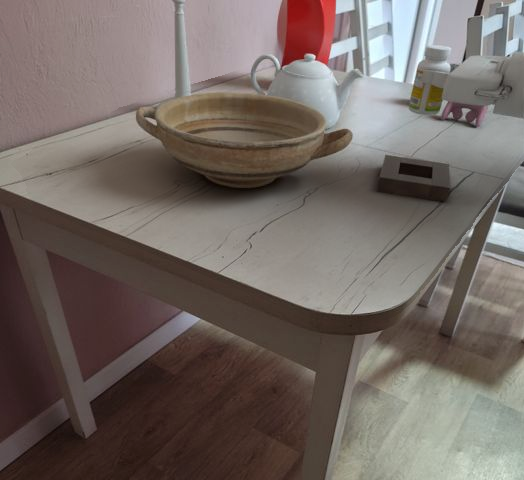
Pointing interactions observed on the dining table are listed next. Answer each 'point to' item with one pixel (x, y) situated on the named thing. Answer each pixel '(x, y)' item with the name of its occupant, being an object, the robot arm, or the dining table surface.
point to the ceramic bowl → (241, 136)
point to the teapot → (309, 85)
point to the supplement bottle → (428, 95)
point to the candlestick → (180, 55)
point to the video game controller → (475, 113)
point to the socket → (415, 178)
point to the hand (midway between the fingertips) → (427, 71)
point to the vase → (305, 29)
